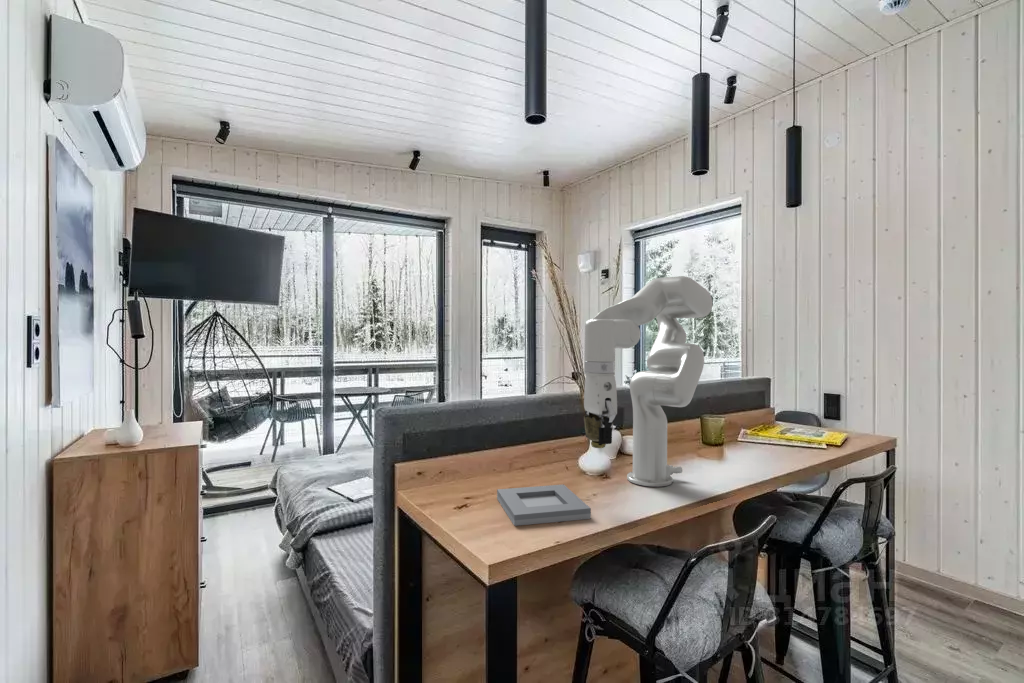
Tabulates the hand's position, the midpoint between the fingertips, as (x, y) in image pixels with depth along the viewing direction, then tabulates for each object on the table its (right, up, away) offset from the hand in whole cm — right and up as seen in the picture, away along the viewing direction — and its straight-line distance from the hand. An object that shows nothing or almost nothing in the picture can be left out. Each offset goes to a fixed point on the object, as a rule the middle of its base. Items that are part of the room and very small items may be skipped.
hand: (598, 439), depth 121 cm
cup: (0, -2, 0) cm, 2 cm away
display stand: (-14, -16, -3) cm, 22 cm away
